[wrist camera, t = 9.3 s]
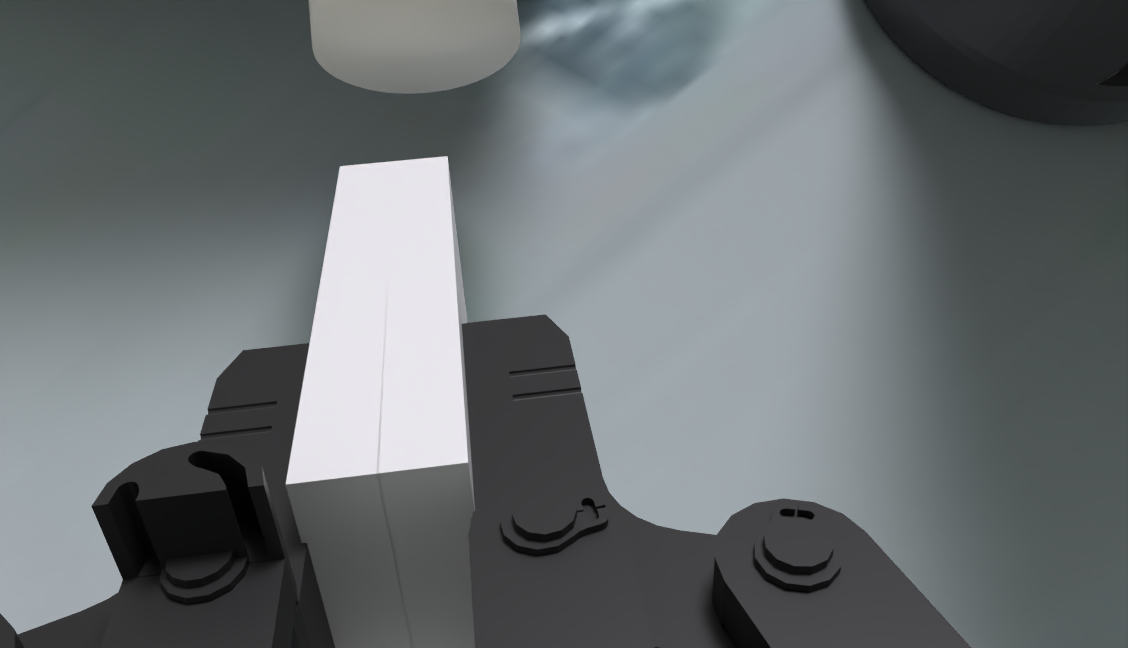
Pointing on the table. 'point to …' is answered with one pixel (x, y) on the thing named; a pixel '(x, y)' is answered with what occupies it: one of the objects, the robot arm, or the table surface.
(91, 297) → the table surface
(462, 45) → the knob
